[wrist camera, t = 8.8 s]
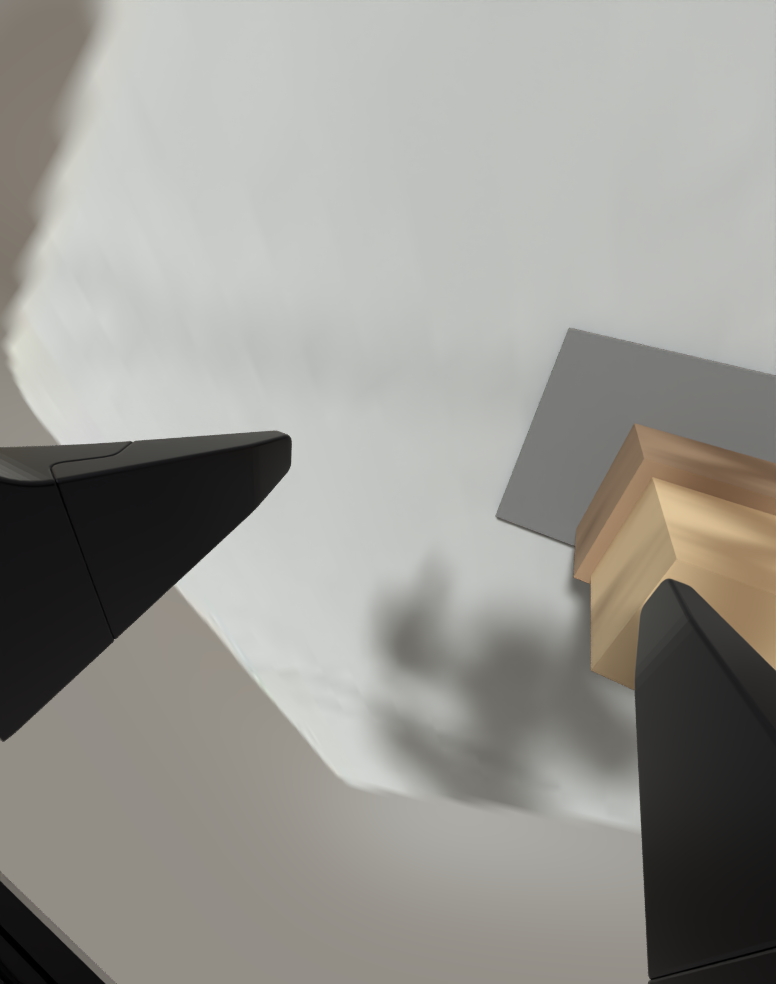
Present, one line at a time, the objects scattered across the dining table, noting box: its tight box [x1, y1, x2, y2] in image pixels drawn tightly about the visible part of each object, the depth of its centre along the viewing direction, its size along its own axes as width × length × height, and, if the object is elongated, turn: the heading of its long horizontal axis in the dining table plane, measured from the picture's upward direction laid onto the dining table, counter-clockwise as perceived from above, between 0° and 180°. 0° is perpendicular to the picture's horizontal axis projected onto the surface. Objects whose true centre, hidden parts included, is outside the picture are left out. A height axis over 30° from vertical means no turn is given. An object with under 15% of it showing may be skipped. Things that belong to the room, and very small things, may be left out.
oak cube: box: [591, 477, 776, 690], centre depth 13 cm, size 5×5×5 cm
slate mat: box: [496, 328, 776, 546], centre depth 18 cm, size 12×10×1 cm
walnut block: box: [573, 423, 776, 584], centre depth 16 cm, size 6×6×4 cm
